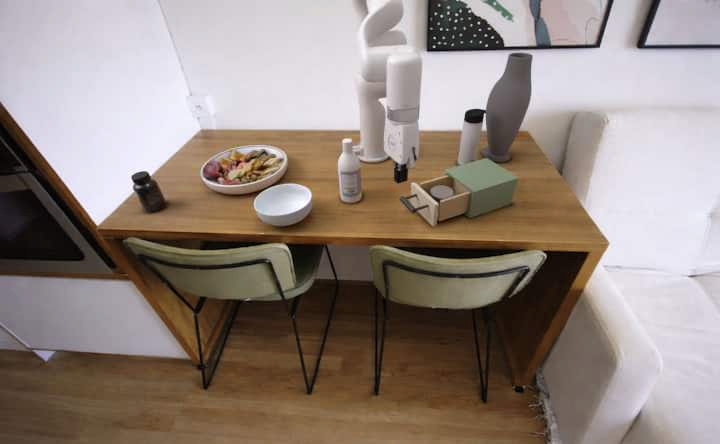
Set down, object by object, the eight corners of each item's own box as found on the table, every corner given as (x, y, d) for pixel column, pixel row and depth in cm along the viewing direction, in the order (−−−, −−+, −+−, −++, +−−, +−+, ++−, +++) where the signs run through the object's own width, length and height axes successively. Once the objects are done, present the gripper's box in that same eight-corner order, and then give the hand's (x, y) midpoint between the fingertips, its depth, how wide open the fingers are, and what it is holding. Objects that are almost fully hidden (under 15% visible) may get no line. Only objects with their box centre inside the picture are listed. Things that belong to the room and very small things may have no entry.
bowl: (271, 149, 141) (267, 131, 136) (303, 179, 121) (299, 159, 116) (196, 172, 129) (189, 153, 124) (218, 209, 109) (210, 189, 104)
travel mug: (476, 169, 122) (487, 114, 109) (457, 168, 123) (465, 113, 110) (475, 160, 126) (485, 107, 114) (457, 159, 128) (464, 106, 115)
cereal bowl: (311, 197, 112) (308, 179, 108) (318, 228, 99) (315, 209, 95) (258, 206, 109) (253, 188, 105) (259, 239, 97) (253, 220, 92)
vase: (471, 153, 131) (488, 54, 109) (494, 144, 136) (515, 47, 114) (499, 167, 122) (524, 62, 100) (522, 156, 127) (551, 54, 105)
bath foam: (365, 199, 110) (363, 142, 97) (345, 206, 107) (341, 147, 95) (356, 189, 115) (353, 133, 102) (337, 195, 112) (331, 138, 100)
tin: (431, 212, 99) (433, 198, 96) (426, 199, 105) (428, 186, 101) (454, 211, 100) (456, 197, 96) (448, 198, 105) (450, 184, 102)
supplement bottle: (142, 205, 113) (125, 174, 105) (164, 198, 116) (149, 167, 108) (146, 215, 108) (129, 183, 101) (169, 207, 111) (153, 175, 104)
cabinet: (469, 218, 100) (474, 191, 94) (441, 194, 110) (445, 169, 104) (511, 203, 105) (518, 177, 99) (481, 182, 115) (486, 157, 109)
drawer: (416, 232, 95) (417, 210, 90) (394, 208, 104) (395, 187, 99) (474, 212, 101) (479, 191, 96) (449, 191, 110) (452, 171, 105)
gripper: (374, 105, 83) (375, 172, 94) (404, 126, 72) (402, 198, 83) (401, 100, 85) (399, 165, 96) (435, 119, 74) (428, 191, 85)
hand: (400, 180), depth 90 cm, fingers closed
